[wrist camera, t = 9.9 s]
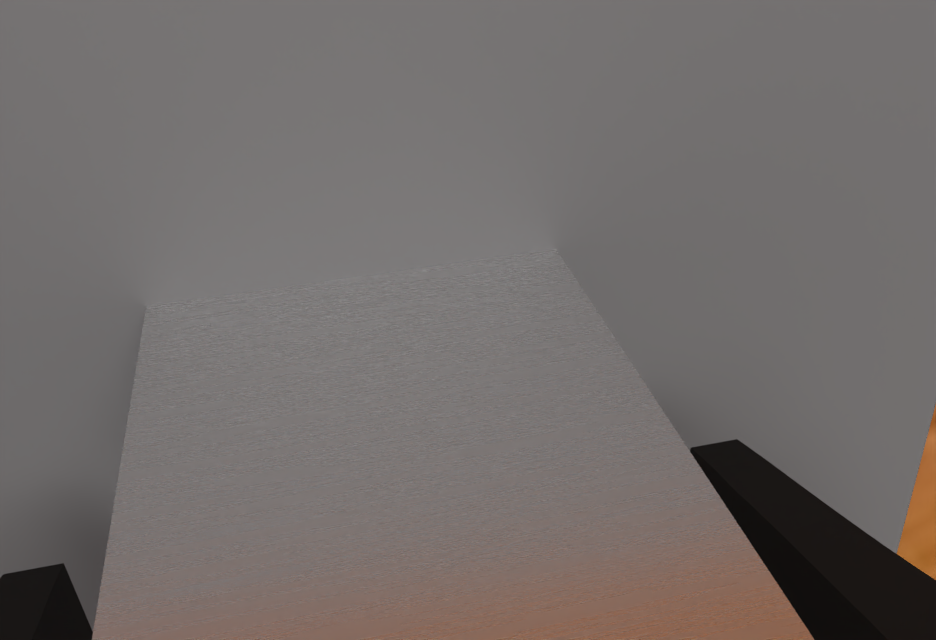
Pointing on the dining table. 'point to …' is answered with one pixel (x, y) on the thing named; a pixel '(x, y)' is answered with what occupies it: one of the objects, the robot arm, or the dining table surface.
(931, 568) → the dining table surface
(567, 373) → the square socket
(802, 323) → the block
